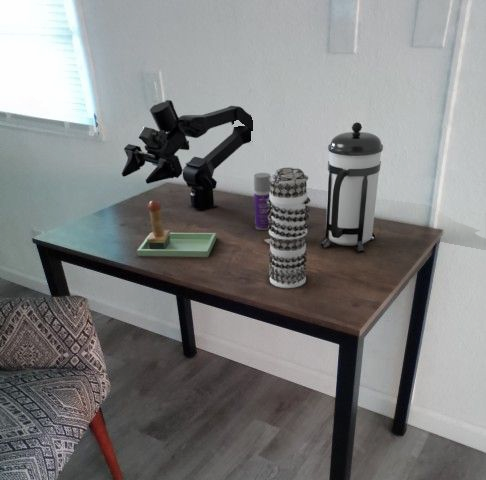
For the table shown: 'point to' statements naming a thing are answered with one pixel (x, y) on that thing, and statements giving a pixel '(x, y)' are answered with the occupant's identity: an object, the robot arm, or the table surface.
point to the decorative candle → (288, 227)
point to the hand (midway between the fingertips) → (134, 178)
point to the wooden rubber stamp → (157, 228)
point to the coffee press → (352, 188)
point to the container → (261, 200)
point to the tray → (182, 245)
